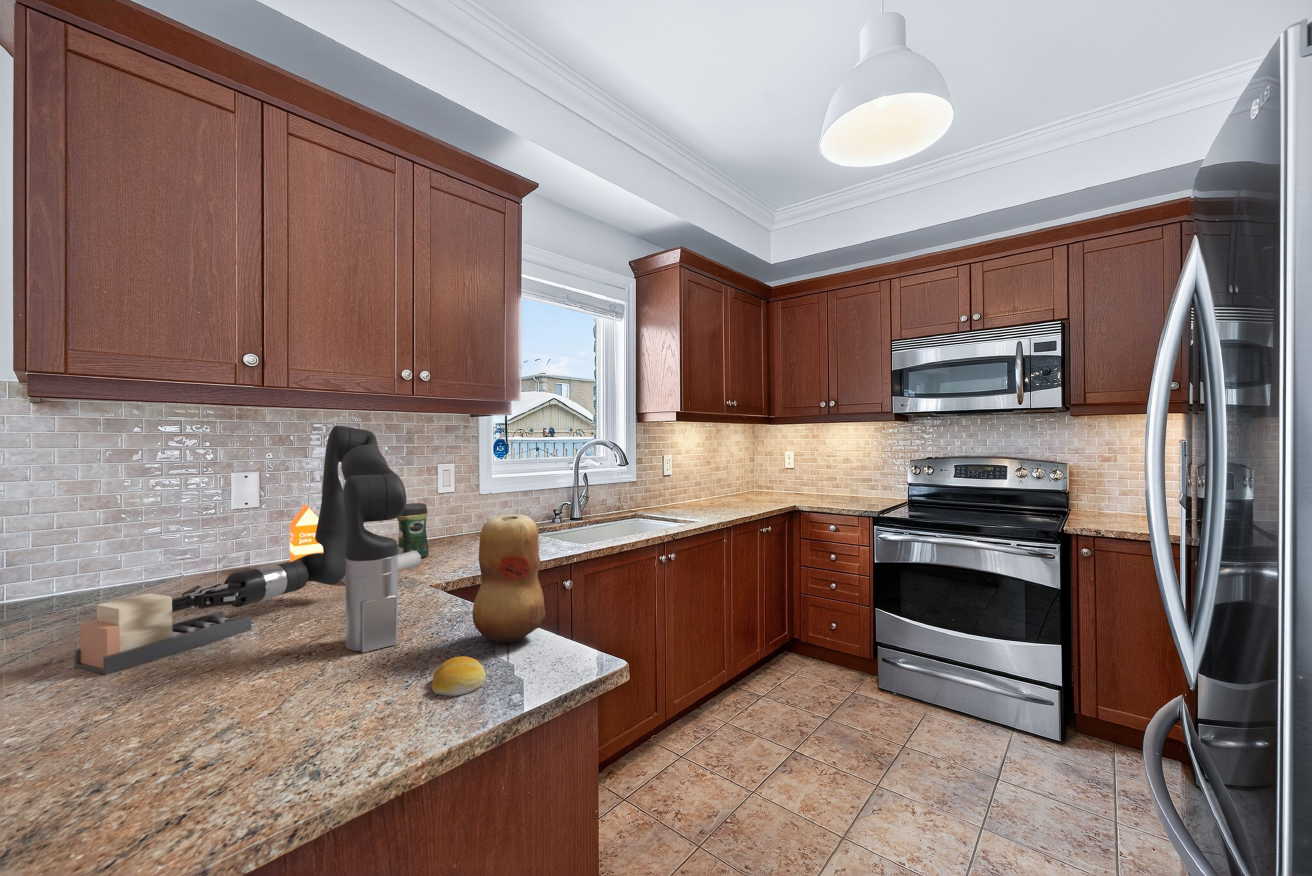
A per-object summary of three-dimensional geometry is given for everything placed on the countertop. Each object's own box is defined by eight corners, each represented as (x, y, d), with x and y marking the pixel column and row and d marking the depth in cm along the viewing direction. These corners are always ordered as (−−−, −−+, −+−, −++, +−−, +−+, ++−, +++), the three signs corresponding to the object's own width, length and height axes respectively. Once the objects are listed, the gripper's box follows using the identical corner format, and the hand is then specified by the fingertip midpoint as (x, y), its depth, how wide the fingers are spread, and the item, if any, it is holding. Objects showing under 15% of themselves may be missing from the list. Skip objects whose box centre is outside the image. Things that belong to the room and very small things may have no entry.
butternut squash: (476, 658, 101) (475, 522, 101) (469, 635, 114) (469, 513, 114) (551, 647, 107) (550, 517, 107) (537, 625, 119) (536, 509, 119)
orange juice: (294, 575, 165) (293, 508, 165) (289, 570, 172) (289, 505, 172) (324, 571, 170) (323, 505, 170) (318, 566, 177) (318, 503, 177)
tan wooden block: (150, 634, 108) (150, 593, 108) (172, 638, 106) (172, 596, 106) (96, 648, 101) (96, 604, 101) (119, 654, 98) (118, 608, 98)
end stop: (93, 659, 101) (92, 620, 101) (119, 665, 98) (119, 626, 98) (80, 662, 99) (80, 623, 99) (107, 669, 96) (107, 629, 96)
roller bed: (221, 624, 121) (221, 610, 121) (251, 629, 118) (251, 615, 118) (74, 666, 99) (74, 649, 99) (106, 675, 95) (105, 657, 95)
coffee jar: (422, 554, 194) (422, 501, 194) (431, 557, 188) (431, 503, 188) (393, 558, 188) (393, 503, 188) (401, 562, 182) (401, 505, 182)
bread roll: (432, 702, 85) (431, 676, 85) (433, 678, 94) (433, 655, 94) (487, 693, 88) (487, 668, 88) (484, 670, 97) (484, 647, 97)
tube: (352, 572, 152) (422, 554, 175) (339, 565, 154) (410, 547, 177) (348, 590, 153) (418, 569, 176) (335, 582, 155) (406, 563, 178)
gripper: (237, 565, 126) (143, 584, 110) (276, 570, 121) (185, 591, 105) (237, 598, 126) (144, 622, 110) (277, 604, 121) (185, 630, 105)
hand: (164, 607), depth 107 cm, fingers closed
